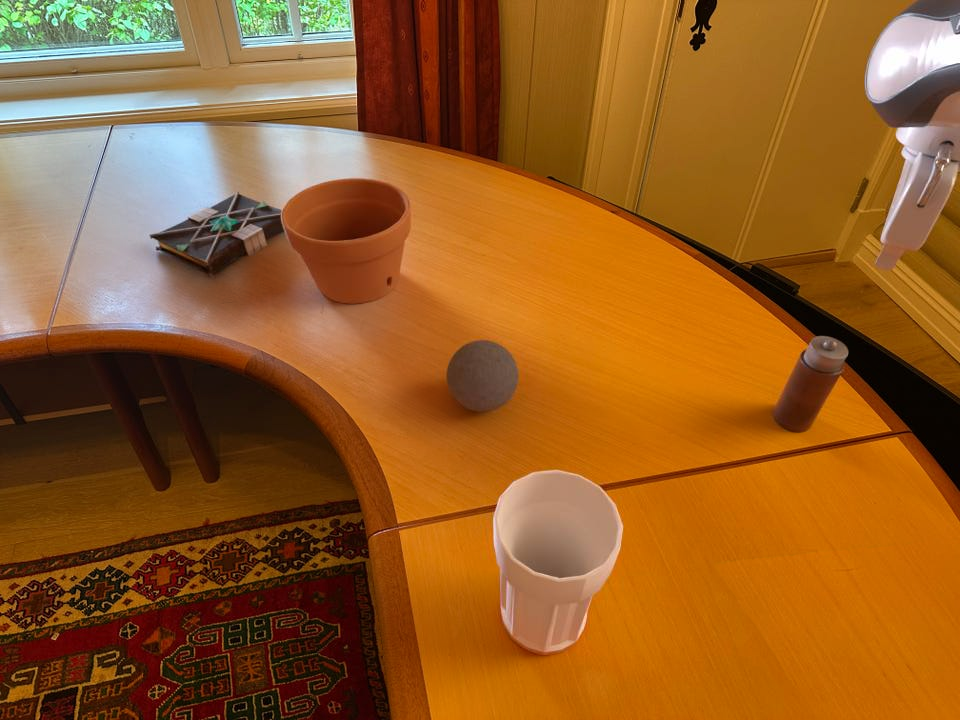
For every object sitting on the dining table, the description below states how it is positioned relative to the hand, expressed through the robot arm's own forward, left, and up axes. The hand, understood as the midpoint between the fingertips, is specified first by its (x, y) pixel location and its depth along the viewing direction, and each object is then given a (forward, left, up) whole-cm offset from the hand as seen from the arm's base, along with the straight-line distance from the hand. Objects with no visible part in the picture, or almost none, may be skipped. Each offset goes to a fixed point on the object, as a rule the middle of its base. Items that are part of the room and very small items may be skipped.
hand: (889, 247), depth 70 cm
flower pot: (+37, +65, -26) cm, 80 cm away
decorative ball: (+5, +46, -26) cm, 54 cm away
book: (+54, +91, -26) cm, 110 cm away
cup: (-26, +43, -26) cm, 57 cm away
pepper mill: (-3, +3, -26) cm, 27 cm away
